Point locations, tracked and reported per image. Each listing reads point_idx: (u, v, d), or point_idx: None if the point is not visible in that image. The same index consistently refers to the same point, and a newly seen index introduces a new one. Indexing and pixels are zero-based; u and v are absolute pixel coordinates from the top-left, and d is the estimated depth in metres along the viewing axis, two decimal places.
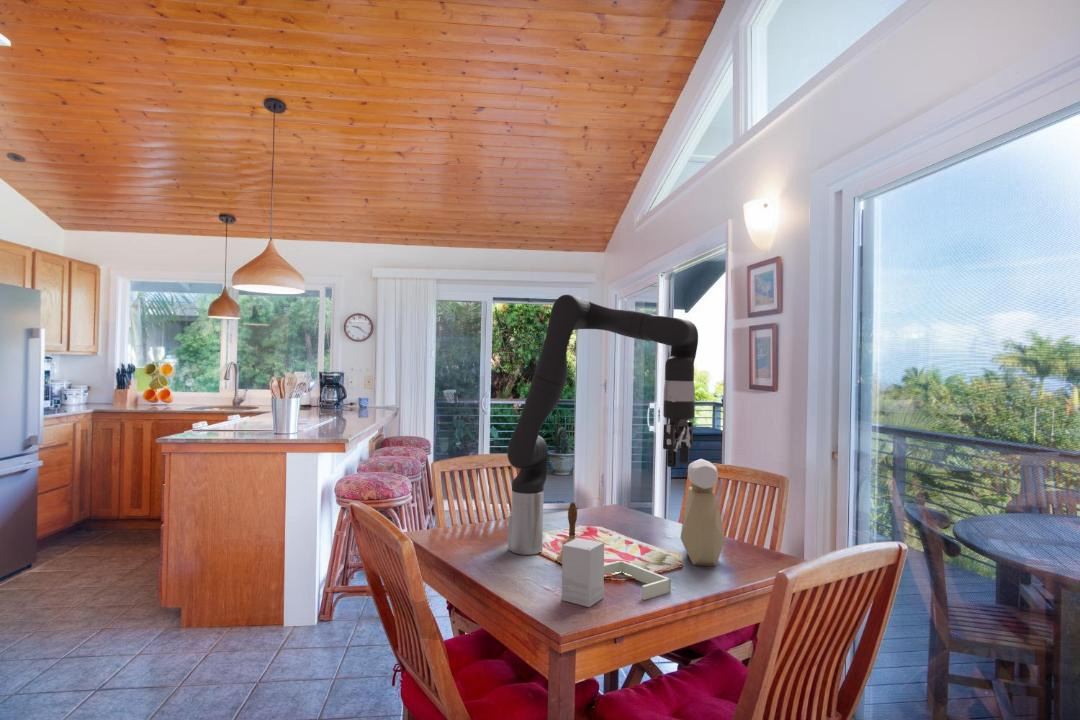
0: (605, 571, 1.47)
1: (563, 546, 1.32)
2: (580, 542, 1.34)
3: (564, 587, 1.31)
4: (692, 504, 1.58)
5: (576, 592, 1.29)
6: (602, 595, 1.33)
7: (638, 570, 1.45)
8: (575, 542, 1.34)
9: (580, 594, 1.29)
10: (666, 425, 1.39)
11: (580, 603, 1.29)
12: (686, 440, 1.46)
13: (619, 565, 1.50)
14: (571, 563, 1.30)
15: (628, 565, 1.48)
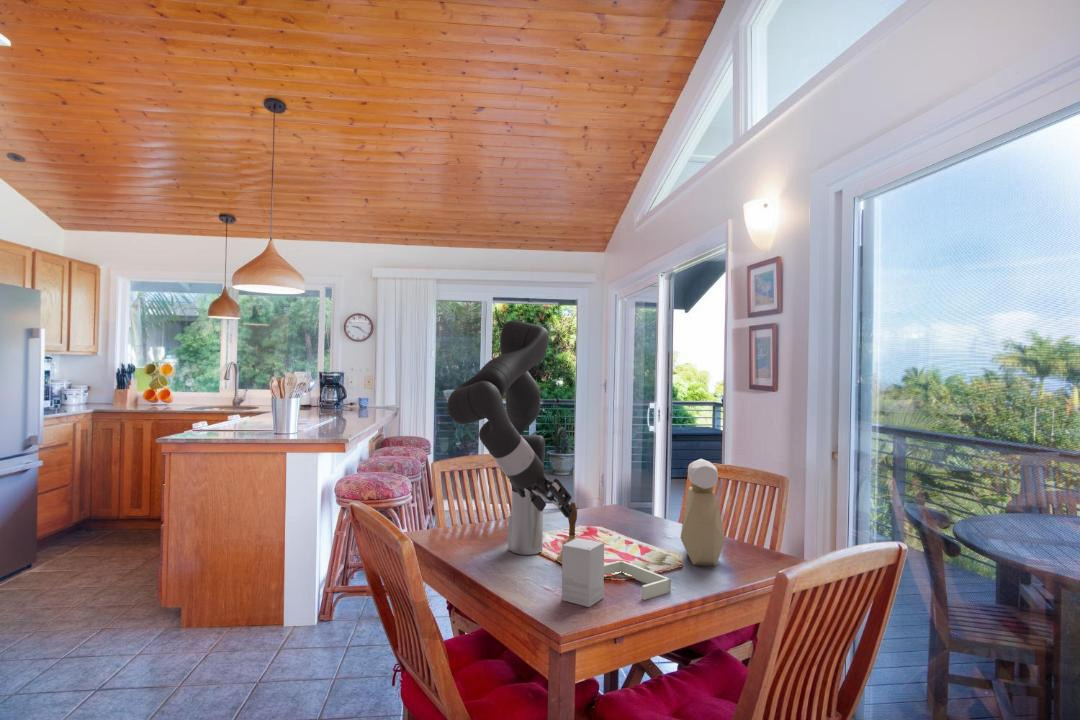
0: (605, 571, 1.47)
1: (563, 546, 1.32)
2: (580, 542, 1.34)
3: (564, 587, 1.31)
4: (692, 504, 1.58)
5: (576, 592, 1.29)
6: (602, 595, 1.33)
7: (638, 570, 1.45)
8: (575, 542, 1.34)
9: (580, 594, 1.29)
10: None
11: (580, 603, 1.29)
12: None
13: (619, 565, 1.50)
14: (571, 563, 1.30)
15: (628, 565, 1.48)
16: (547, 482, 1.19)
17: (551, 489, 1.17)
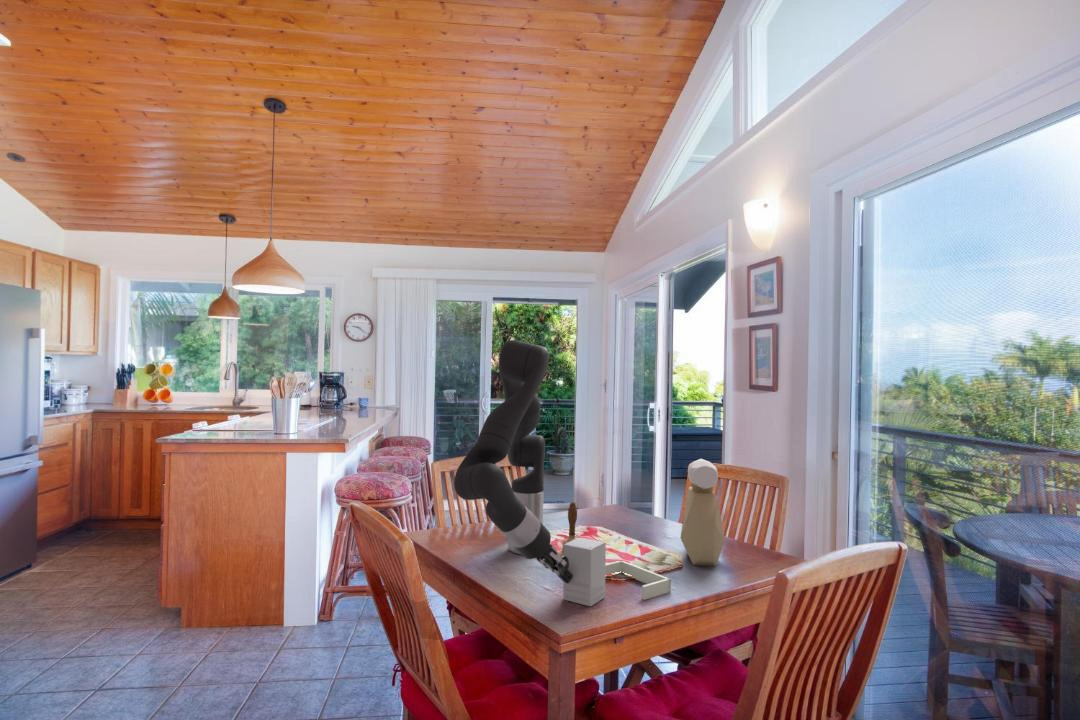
0: (605, 571, 1.47)
1: (564, 545, 1.32)
2: (582, 541, 1.34)
3: (565, 586, 1.32)
4: (692, 504, 1.58)
5: (578, 592, 1.30)
6: (604, 595, 1.33)
7: (638, 570, 1.45)
8: (577, 541, 1.34)
9: (581, 594, 1.29)
10: None
11: (581, 602, 1.29)
12: None
13: (619, 565, 1.50)
14: (572, 563, 1.31)
15: (628, 565, 1.48)
16: (556, 556, 1.23)
17: (560, 568, 1.22)
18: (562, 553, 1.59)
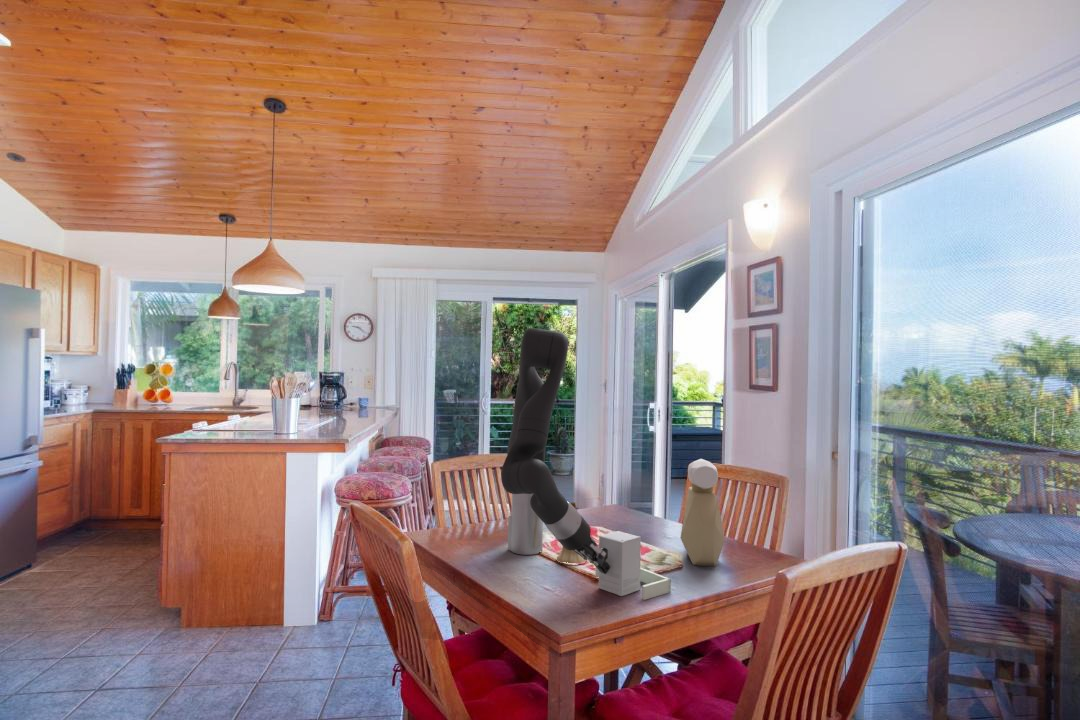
0: None
1: (600, 537, 1.40)
2: (617, 534, 1.40)
3: (600, 576, 1.39)
4: (692, 504, 1.58)
5: (611, 581, 1.36)
6: (638, 587, 1.39)
7: None
8: (612, 534, 1.41)
9: (614, 584, 1.36)
10: None
11: (614, 592, 1.36)
12: None
13: None
14: None
15: None
16: (596, 548, 1.29)
17: (601, 558, 1.28)
18: (562, 553, 1.59)
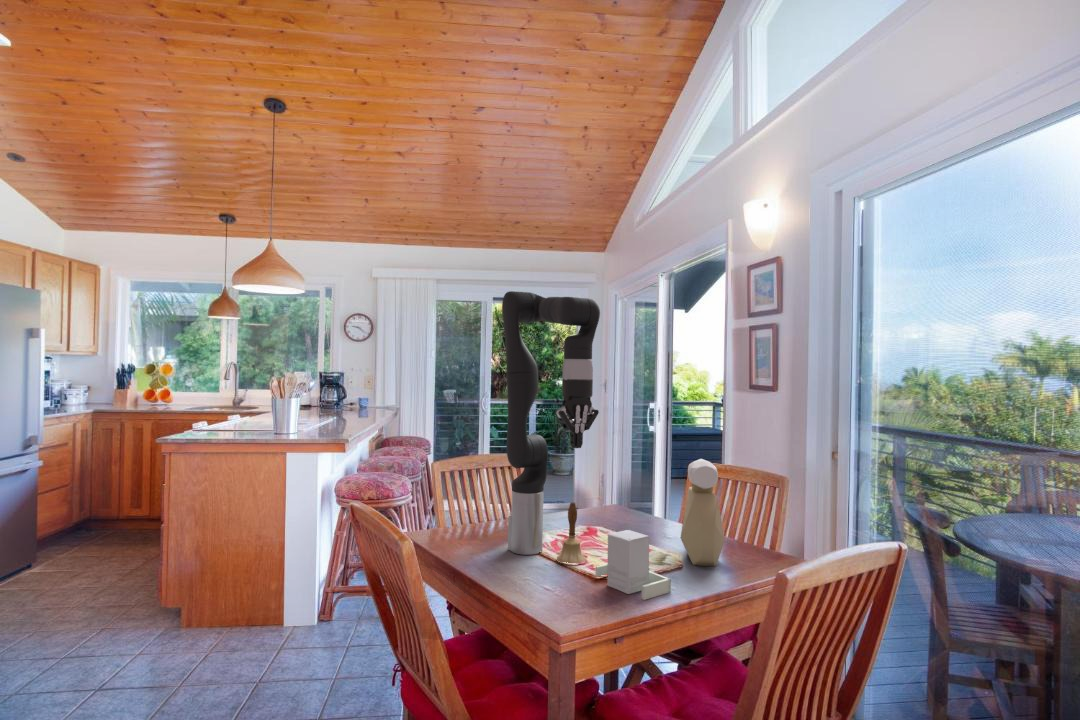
0: (605, 571, 1.47)
1: (608, 535, 1.42)
2: (626, 533, 1.42)
3: (609, 573, 1.41)
4: (692, 504, 1.58)
5: (618, 579, 1.38)
6: None
7: None
8: (621, 533, 1.42)
9: (621, 582, 1.37)
10: (556, 413, 1.41)
11: (621, 590, 1.37)
12: (580, 421, 1.44)
13: None
14: (614, 552, 1.40)
15: None
16: None
17: (597, 412, 1.47)
18: (562, 553, 1.59)
